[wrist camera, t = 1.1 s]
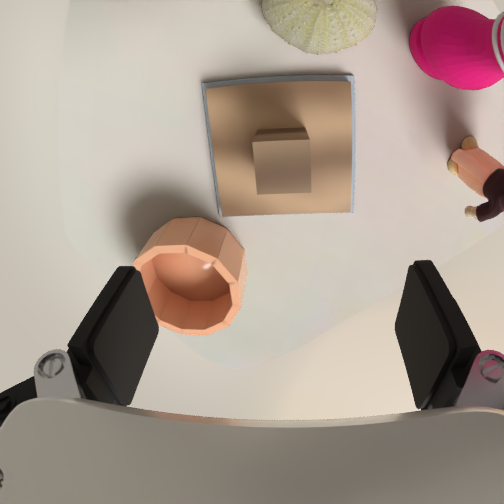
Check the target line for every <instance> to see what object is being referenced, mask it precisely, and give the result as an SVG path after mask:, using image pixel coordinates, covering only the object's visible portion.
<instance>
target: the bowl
mask: <svg viewBox="0 0 504 504" xmlns="http://www.w3.org/2000/svg"><path fill="white" fill-rule="evenodd" d="M133 266H134V267H135V268H136V270H139V271H140V272H141V275H142V278H143V281H144V284H145V288H146V291H147V294H148V297H149V300H150V303H151V305H152V308H153V311H154V314H155V317H156V320H157V323H158V325H161V326H163V327H165V328H168V329H170V330H172V331H175V332H177V333H180V334H188V335H209V334H212V333H214V332H216V331H219V330H221V329H223V328H225V327H228V326H229V325H230V324H231V323H232V321H233V319H234V318H235V316H236V314H237V313H238V311H239V310H240V308H241V305H242V299H243V294H244V288H245V282H246V276H247V268H246V260H245V251H244V249H243V248H242V246H241V245H240V244H239V243H238V241H237V240H236V239H235V238H234V236H233V235H232V234H231V233H230V232H229V230H228V229H227V228H225V227H222V226H220V225H218V224H216V223H213V222H211V221H209V220H207V219H204V218H202V217H188V218H173V219H172V220H170V221H169V222H167V223H166V224H165V225H163V226H162V227H160V228H159V229H158V230H156V231H155V232H154V233H153V234H152V236H151V237H150V239H149V240H148V241H147V243H146V244H145V246H144V247H143V249H142V250H141V252H140V253H139V255H138V256H137V258H136V259H135V261H134V264H133Z"/></svg>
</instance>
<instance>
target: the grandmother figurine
mask: <svg viewBox="0 0 504 504" xmlns="http://www.w3.org/2000/svg"><path fill="white" fill-rule="evenodd" d="M448 169H449V171H450V172H451V173H453V174H455V175H456V176H458V177H459V178H460V179H461V180H462V181H463V182H464V183H465V184H466V185H467V186H468V187H469V188H471V189H472V190H473V191H475V192H476V193H477V194H479V195H481V196H482V197H484V198H487V199H488V200H489V201H488V202H486V203H483V204H481V205H479V206H477V207H473V206H467V207H466V208H465V215H466V216H467V217H469V218H471V217H473V218H475V219H478V220H479V221H480V222H482V221H485V220H487V219H491V218H494V217H496V216H497V215H499V214H500V213H501V212H503V211H504V166H503V165H502V164H501V163H499V162H498V161H497V160H496V159H494V158H493V157H492V156H490V155H489V154H488V153H486V152H485V151H483V150H482V149H480V148H478V144H477V142H476V140H475V138H473V137H471V136H469V137H466V138H465V139H464V140H463V142H462V149H458V150H456V151H455V152H454V153H453V154H452V157H451V158H450V160H449V161H448Z"/></svg>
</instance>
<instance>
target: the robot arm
mask: <svg viewBox="0 0 504 504" xmlns="http://www.w3.org/2000/svg"><path fill="white" fill-rule="evenodd" d="M158 331H159V327H158V323H157V320H156V317H155V314H154V311H153V308H152V305H151V303H150V300H149V297H148V294H147V291H146V288H145V284H144V281H143V278H142V275H141V272H140V271H139V270H136V268H135V267H134V266H119V267H118V268H117V269H116V271H115V272H114V274H113V275H112V276H111V278H110V279H109V281H108V282H107V284H106V285H105V287H104V288H103V290H102V291H101V293H100V294H99V296H98V297H97V299H96V300H95V302H94V303H93V305H92V306H91V308H90V310H89V311H88V313H87V314H86V316H85V317H84V319H83V320H82V322H81V324H80V325H79V327H78V329H77V330H76V332H75V333H74V335H73V336H72V338H71V340H70V341H69V343H68V347H69V349H68V351H67V352H65V351H63V350H60V349H59V350H51V351H48V352H47V353H45V354H43V355H42V356H41V357H40V358H39V359H38V361H37V363H36V364H35V367H34V376H33V377H31V378H29V379H27V380H25V381H23V382H21V383H19V384H17V385H15V386H13V387H11V388H9V389H7V390H5V391H3V392H2V393H0V504H504V355H503V354H501V353H500V352H497V351H494V350H486V351H481V349H480V348H479V345H478V343H477V341H476V339H475V337H474V335H473V333H472V331H471V329H470V327H469V325H468V323H467V321H466V319H465V317H464V315H463V313H462V312H461V310H460V308H459V306H458V304H457V302H456V300H455V299H454V298H453V297H452V295H451V293H450V291H449V290H448V288H447V286H446V284H445V283H444V281H443V279H442V277H441V276H440V274H439V272H438V271H437V269H436V267H435V266H434V264H433V262H432V261H431V260H417V261H415V262H414V264H413V265H410V266H409V268H408V273H407V277H406V282H405V286H404V290H403V295H402V299H401V303H400V307H399V311H398V314H397V318H396V322H395V332H396V336H397V339H398V342H399V346H400V349H401V353H402V356H403V359H404V363H405V366H406V370H407V374H408V378H409V381H410V385H411V389H412V393H413V397H414V401H415V405H416V407H417V408H418V409H421V411H415V412H407V413H399V414H390V415H380V416H370V417H359V418H345V419H327V420H246V419H227V418H213V417H202V416H191V415H182V414H173V413H165V412H158V411H151V410H144V409H138V408H132V407H126V406H127V405H130V404H131V402H132V399H133V397H134V394H135V391H136V388H137V386H138V383H139V381H140V378H141V376H142V373H143V370H144V368H145V365H146V363H147V360H148V358H149V355H150V352H151V350H152V348H153V345H154V342H155V340H156V338H157V335H158Z"/></svg>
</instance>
